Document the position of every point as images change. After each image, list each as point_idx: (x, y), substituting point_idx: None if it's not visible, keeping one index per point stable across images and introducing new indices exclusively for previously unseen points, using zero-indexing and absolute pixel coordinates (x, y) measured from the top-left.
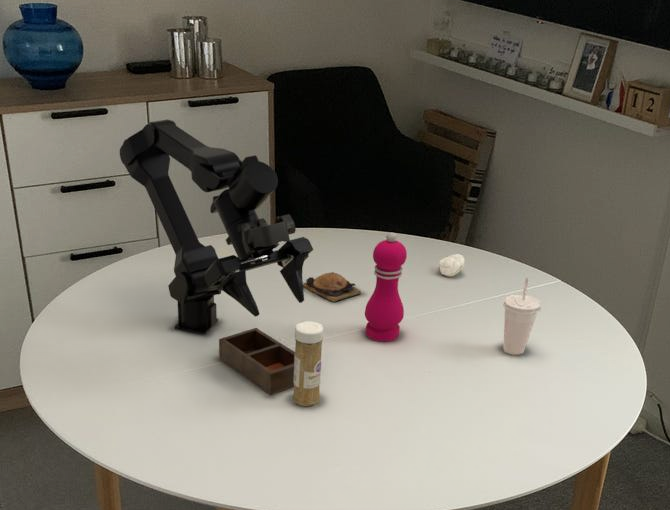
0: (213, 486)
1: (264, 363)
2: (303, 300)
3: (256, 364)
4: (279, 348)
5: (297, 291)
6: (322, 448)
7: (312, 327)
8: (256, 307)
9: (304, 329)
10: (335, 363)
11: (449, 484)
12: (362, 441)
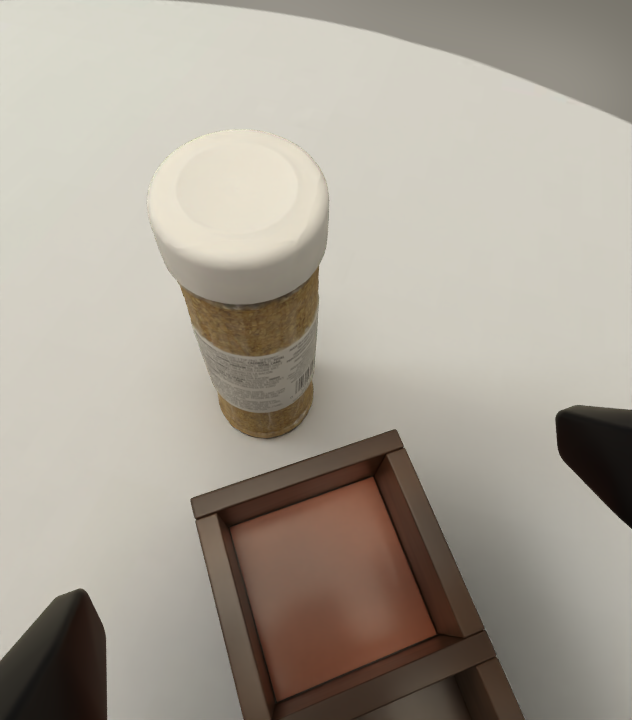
0: (588, 129)
1: (360, 671)
2: (68, 595)
3: (440, 531)
4: (272, 718)
5: (66, 697)
6: None
7: (221, 179)
8: (610, 414)
9: (281, 167)
10: None
11: (109, 34)
12: None
